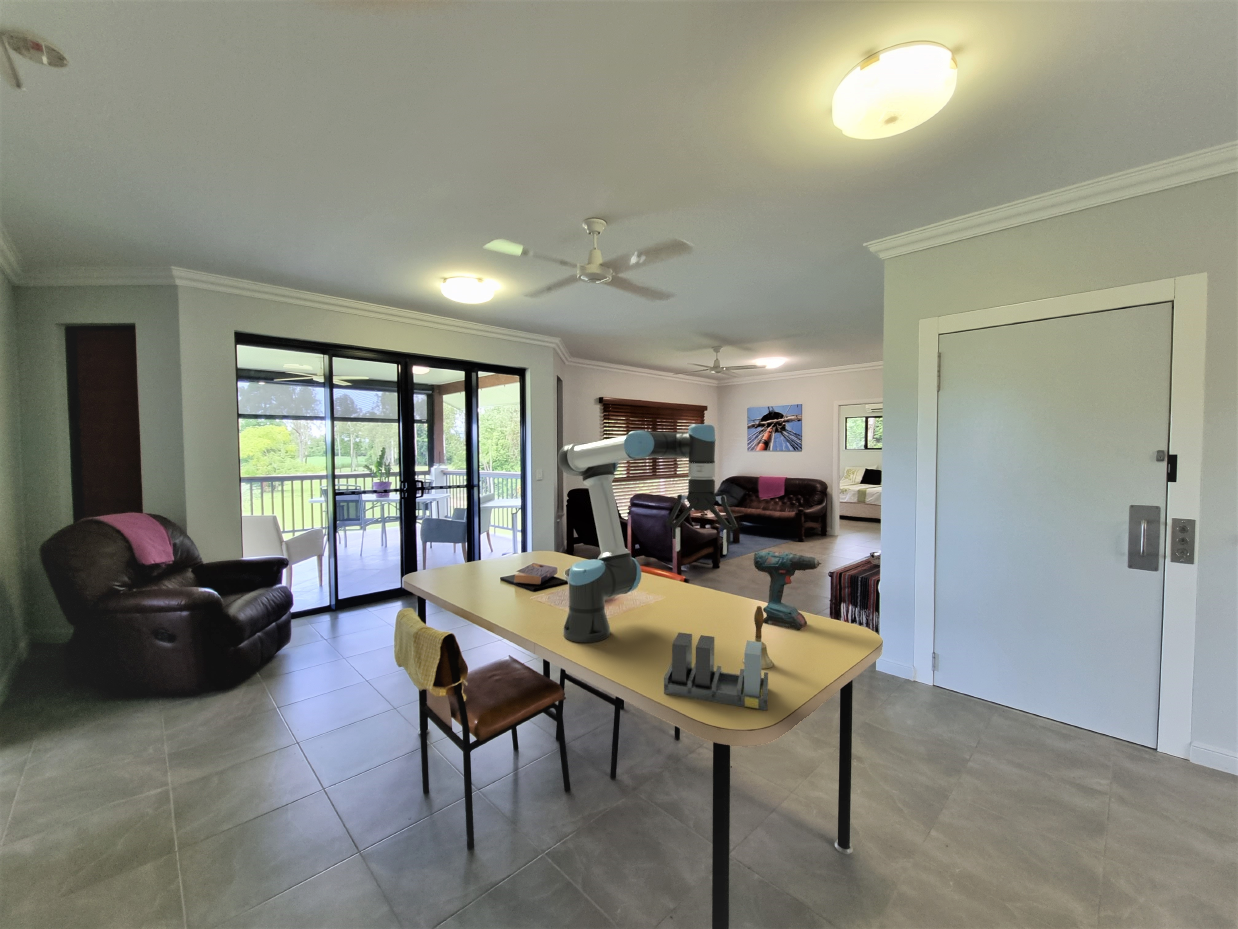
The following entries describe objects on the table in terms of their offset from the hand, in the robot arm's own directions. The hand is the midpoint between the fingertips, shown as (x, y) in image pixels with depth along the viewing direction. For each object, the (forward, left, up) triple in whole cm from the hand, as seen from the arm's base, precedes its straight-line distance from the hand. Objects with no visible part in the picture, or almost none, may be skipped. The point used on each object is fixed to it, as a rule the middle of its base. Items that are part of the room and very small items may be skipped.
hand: (701, 552), depth 138 cm
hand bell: (+16, +2, -31) cm, 35 cm away
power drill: (+24, +38, -31) cm, 55 cm away
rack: (+7, -18, -31) cm, 37 cm away
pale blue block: (+16, -19, -30) cm, 38 cm away
